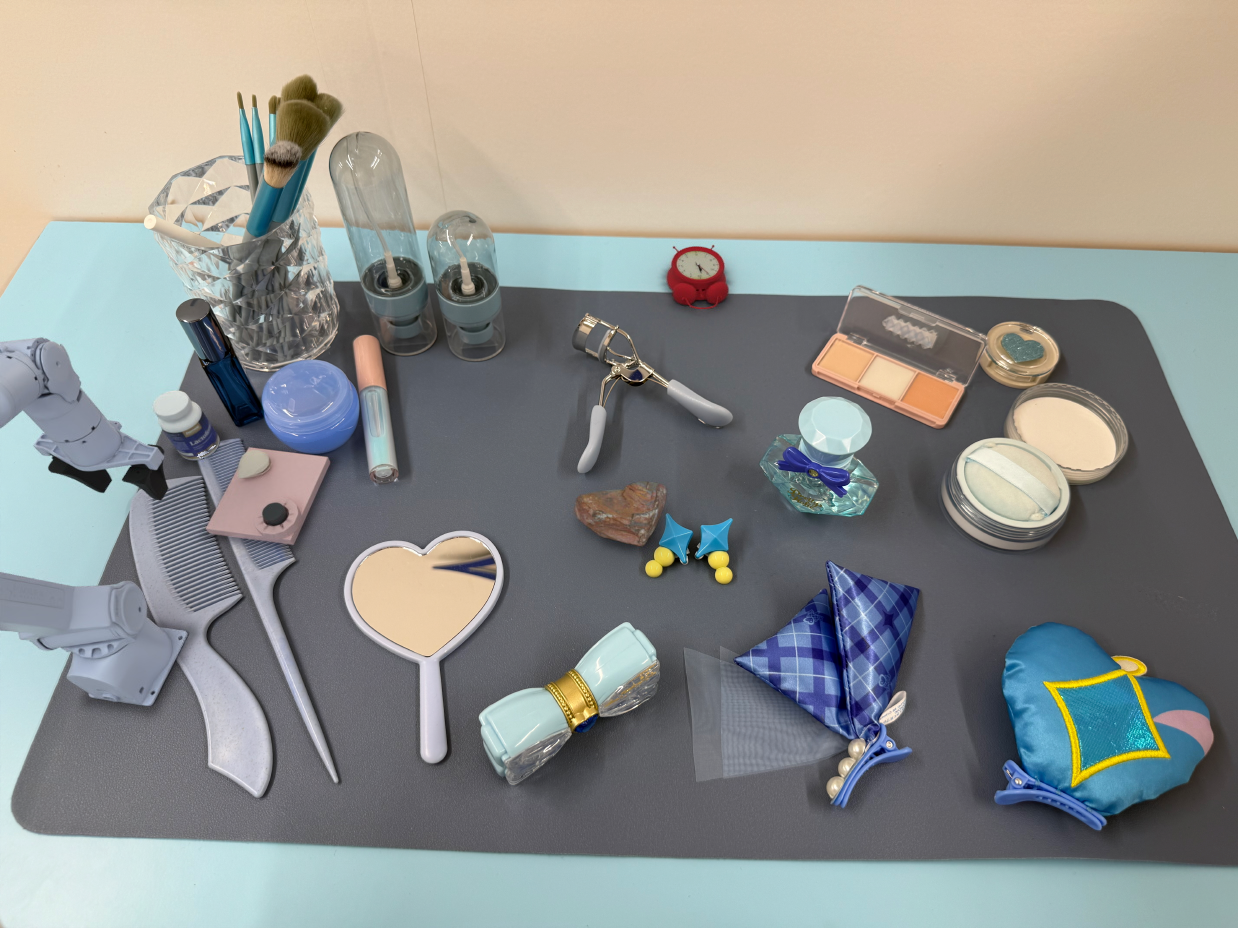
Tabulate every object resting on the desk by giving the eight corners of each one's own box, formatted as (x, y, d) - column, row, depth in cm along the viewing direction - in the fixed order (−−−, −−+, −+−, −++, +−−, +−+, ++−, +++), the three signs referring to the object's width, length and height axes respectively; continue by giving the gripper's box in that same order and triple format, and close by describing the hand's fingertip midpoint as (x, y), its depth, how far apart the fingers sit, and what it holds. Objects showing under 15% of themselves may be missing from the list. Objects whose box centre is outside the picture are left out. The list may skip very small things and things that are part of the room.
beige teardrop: (279, 465, 110) (273, 454, 108) (253, 489, 108) (246, 479, 106) (257, 452, 112) (251, 442, 110) (231, 476, 109) (223, 466, 107)
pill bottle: (208, 464, 112) (177, 421, 104) (172, 458, 113) (139, 415, 105) (228, 434, 115) (199, 390, 107) (193, 428, 116) (162, 384, 108)
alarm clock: (722, 240, 138) (737, 280, 126) (719, 272, 142) (734, 314, 130) (664, 242, 137) (674, 283, 126) (663, 274, 141) (673, 316, 130)
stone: (662, 504, 109) (666, 463, 101) (674, 556, 104) (679, 517, 96) (573, 515, 108) (571, 475, 100) (581, 569, 103) (579, 530, 95)
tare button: (282, 527, 103) (278, 521, 102) (262, 524, 103) (258, 518, 102) (290, 509, 105) (286, 503, 103) (271, 507, 105) (267, 500, 104)
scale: (295, 547, 104) (287, 536, 102) (208, 536, 105) (199, 524, 103) (333, 462, 112) (327, 450, 110) (252, 452, 113) (244, 440, 111)
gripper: (152, 403, 89) (202, 471, 100) (34, 389, 90) (97, 458, 101) (120, 452, 85) (176, 517, 96) (-3, 436, 86) (67, 502, 97)
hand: (134, 490), depth 98 cm, fingers open, 7 cm apart
